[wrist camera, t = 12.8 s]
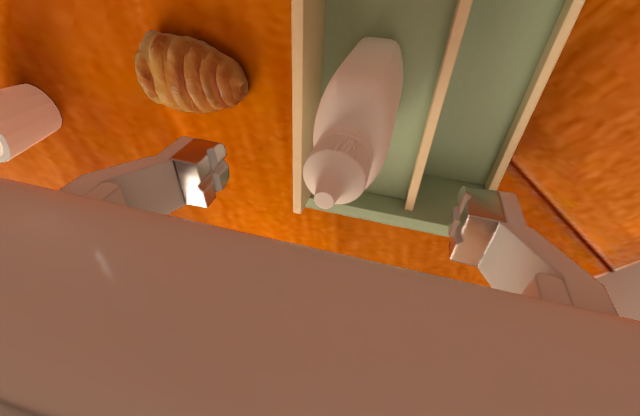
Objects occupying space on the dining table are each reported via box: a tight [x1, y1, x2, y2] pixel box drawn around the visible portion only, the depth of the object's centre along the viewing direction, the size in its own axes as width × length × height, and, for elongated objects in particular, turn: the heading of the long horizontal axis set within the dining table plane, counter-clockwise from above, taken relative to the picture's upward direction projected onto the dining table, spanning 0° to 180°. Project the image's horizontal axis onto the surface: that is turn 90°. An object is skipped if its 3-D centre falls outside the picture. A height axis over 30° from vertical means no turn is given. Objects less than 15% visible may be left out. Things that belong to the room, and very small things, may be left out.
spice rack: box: [291, 0, 586, 237], centre depth 21 cm, size 18×14×11 cm
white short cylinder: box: [0, 84, 62, 162], centre depth 36 cm, size 7×7×7 cm
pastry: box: [135, 30, 248, 113], centre depth 29 cm, size 9×7×4 cm
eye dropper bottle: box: [303, 37, 404, 209], centre depth 16 cm, size 4×6×12 cm
